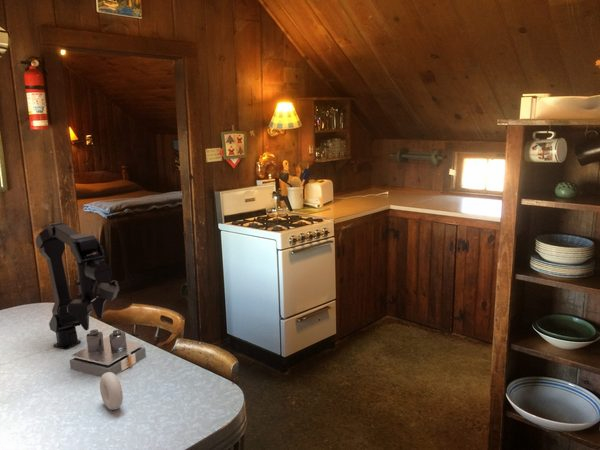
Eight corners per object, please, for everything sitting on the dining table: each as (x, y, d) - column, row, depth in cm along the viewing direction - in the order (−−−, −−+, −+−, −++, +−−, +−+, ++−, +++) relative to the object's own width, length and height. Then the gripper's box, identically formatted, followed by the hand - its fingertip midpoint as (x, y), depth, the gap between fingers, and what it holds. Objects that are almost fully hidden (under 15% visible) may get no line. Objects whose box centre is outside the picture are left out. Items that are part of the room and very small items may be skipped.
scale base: (70, 369, 162) (69, 359, 162) (108, 348, 176) (107, 339, 176) (110, 378, 155) (109, 368, 155) (146, 356, 170) (146, 347, 169)
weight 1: (84, 351, 164) (82, 332, 163) (96, 345, 168) (94, 327, 167) (95, 353, 162) (93, 334, 161) (107, 347, 167) (105, 329, 165)
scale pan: (72, 366, 162) (71, 355, 162) (108, 347, 176) (107, 336, 175) (113, 376, 155) (112, 364, 155) (147, 355, 169) (146, 344, 168)
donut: (126, 413, 137) (123, 378, 135) (113, 418, 135) (110, 382, 133) (112, 398, 144) (108, 365, 142) (99, 402, 142) (95, 369, 140)
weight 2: (107, 350, 164) (105, 332, 163) (120, 344, 168) (118, 326, 167) (117, 354, 162) (115, 335, 160) (130, 347, 166) (128, 329, 164)
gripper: (100, 286, 151) (105, 336, 154) (125, 267, 169) (129, 313, 172) (63, 286, 152) (69, 336, 155) (92, 268, 170) (97, 313, 173)
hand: (93, 324), depth 164 cm, fingers open, 9 cm apart
